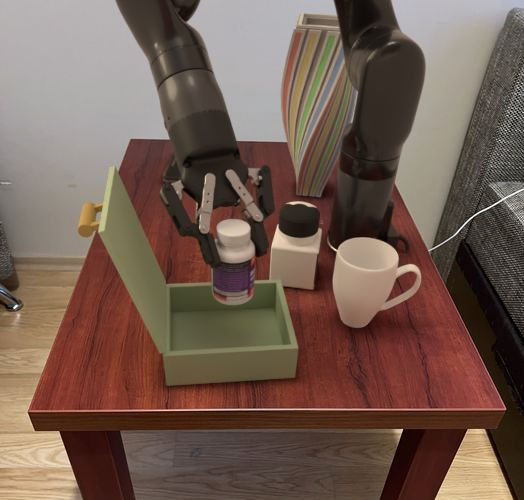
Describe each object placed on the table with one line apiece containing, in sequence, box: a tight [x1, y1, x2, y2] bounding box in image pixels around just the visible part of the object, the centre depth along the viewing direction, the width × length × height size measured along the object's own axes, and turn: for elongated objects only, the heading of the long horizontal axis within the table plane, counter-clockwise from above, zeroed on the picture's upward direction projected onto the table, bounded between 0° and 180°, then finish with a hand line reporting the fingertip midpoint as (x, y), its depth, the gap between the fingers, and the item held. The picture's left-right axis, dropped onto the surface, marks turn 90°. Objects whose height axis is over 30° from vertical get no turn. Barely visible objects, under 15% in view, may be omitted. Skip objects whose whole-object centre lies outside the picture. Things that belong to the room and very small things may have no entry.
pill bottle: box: [210, 218, 256, 305], centre depth 66 cm, size 5×5×10 cm
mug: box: [332, 237, 422, 329], centre depth 76 cm, size 12×8×11 cm
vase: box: [280, 12, 358, 198], centre depth 99 cm, size 14×14×30 cm
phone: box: [162, 152, 180, 184], centre depth 114 cm, size 8×1×15 cm
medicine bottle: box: [268, 201, 323, 291], centre depth 84 cm, size 7×7×12 cm
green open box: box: [162, 279, 299, 387], centre depth 73 cm, size 17×15×5 cm
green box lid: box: [76, 165, 167, 355], centre depth 64 cm, size 17×15×4 cm
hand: (239, 260), depth 64 cm, fingers closed on pill bottle, 5 cm apart
